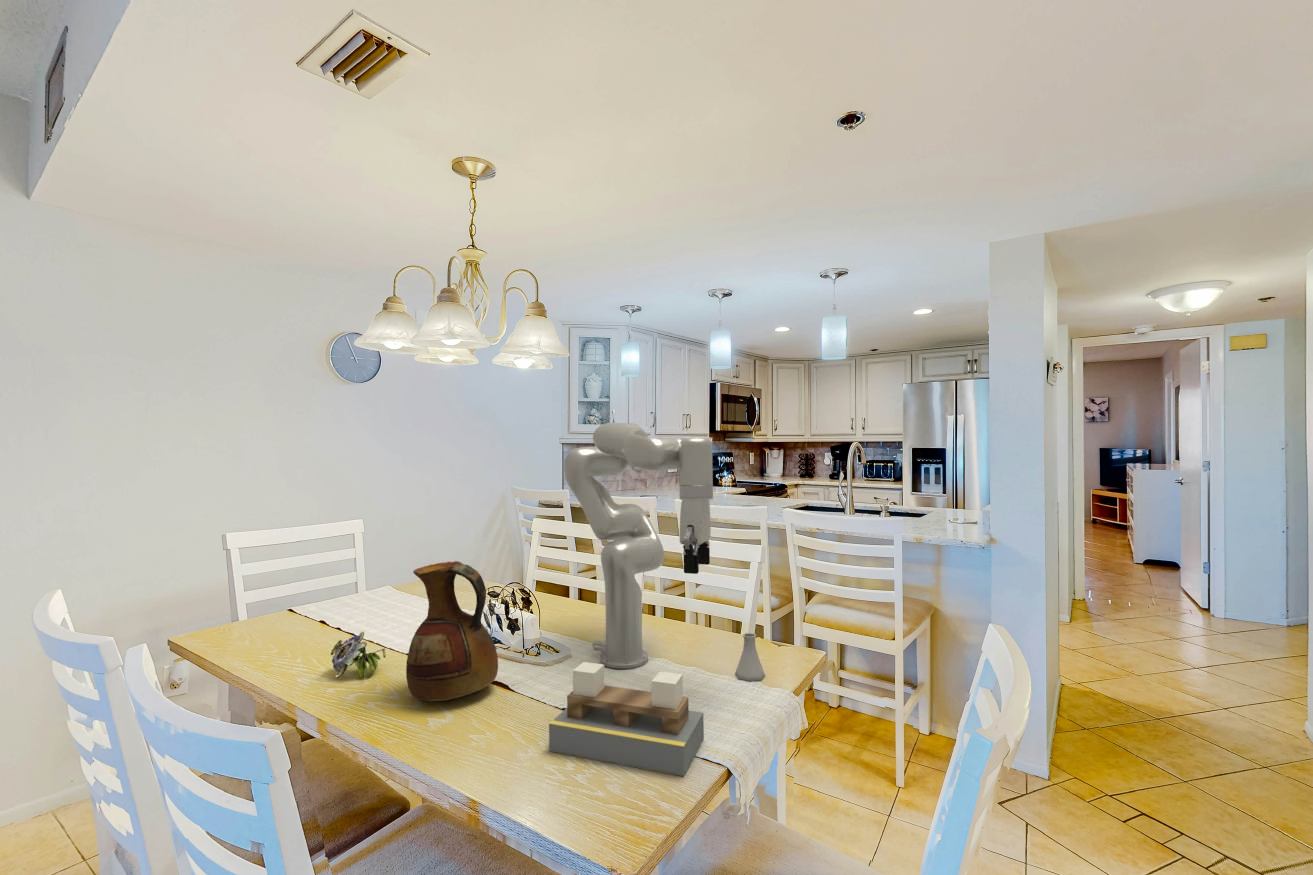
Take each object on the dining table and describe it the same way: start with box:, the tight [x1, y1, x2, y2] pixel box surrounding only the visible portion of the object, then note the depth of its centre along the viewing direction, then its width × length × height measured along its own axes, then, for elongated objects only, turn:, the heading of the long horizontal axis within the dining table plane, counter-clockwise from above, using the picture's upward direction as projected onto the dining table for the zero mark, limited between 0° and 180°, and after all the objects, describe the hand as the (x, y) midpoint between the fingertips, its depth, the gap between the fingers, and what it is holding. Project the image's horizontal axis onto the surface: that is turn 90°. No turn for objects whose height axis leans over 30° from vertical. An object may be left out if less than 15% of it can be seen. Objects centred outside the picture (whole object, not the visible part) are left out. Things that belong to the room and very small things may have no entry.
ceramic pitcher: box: [405, 560, 499, 702], centre depth 132 cm, size 20×20×30 cm
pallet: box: [566, 684, 690, 735], centre depth 108 cm, size 22×6×4 cm, turn 71°
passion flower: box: [330, 631, 387, 679], centre depth 144 cm, size 11×11×12 cm
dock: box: [548, 706, 705, 777], centre depth 108 cm, size 26×13×5 cm, turn 71°
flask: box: [734, 632, 766, 682], centre depth 140 cm, size 7×7×10 cm
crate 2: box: [651, 671, 684, 709], centre depth 106 cm, size 4×4×4 cm
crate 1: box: [572, 661, 605, 697], centre depth 111 cm, size 4×4×4 cm
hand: (697, 568), depth 130 cm, fingers open, 9 cm apart
